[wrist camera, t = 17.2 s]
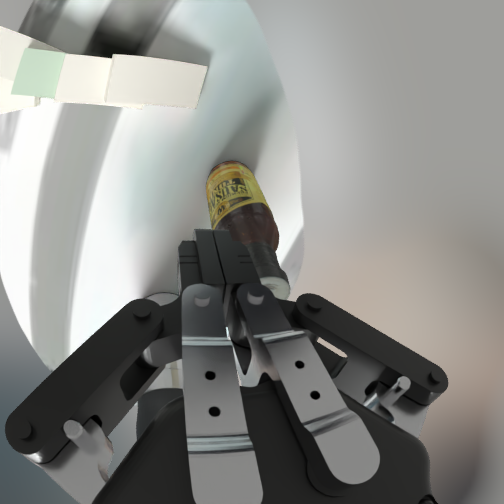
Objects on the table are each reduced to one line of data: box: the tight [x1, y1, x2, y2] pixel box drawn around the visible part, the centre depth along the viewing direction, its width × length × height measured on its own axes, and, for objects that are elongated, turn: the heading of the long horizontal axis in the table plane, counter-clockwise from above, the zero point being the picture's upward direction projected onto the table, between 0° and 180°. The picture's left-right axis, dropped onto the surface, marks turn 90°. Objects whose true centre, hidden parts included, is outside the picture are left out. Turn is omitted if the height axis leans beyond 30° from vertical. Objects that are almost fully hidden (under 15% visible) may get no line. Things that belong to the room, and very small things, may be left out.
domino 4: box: [54, 54, 144, 110], centre depth 23 cm, size 5×2×10 cm
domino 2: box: [11, 48, 68, 99], centre depth 21 cm, size 5×2×10 cm
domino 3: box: [0, 76, 40, 114], centre depth 21 cm, size 5×2×10 cm
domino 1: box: [0, 26, 66, 81], centre depth 17 cm, size 5×2×10 cm
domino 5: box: [104, 54, 208, 109], centre depth 25 cm, size 5×2×10 cm
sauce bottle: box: [206, 161, 290, 300], centre depth 29 cm, size 6×6×20 cm
